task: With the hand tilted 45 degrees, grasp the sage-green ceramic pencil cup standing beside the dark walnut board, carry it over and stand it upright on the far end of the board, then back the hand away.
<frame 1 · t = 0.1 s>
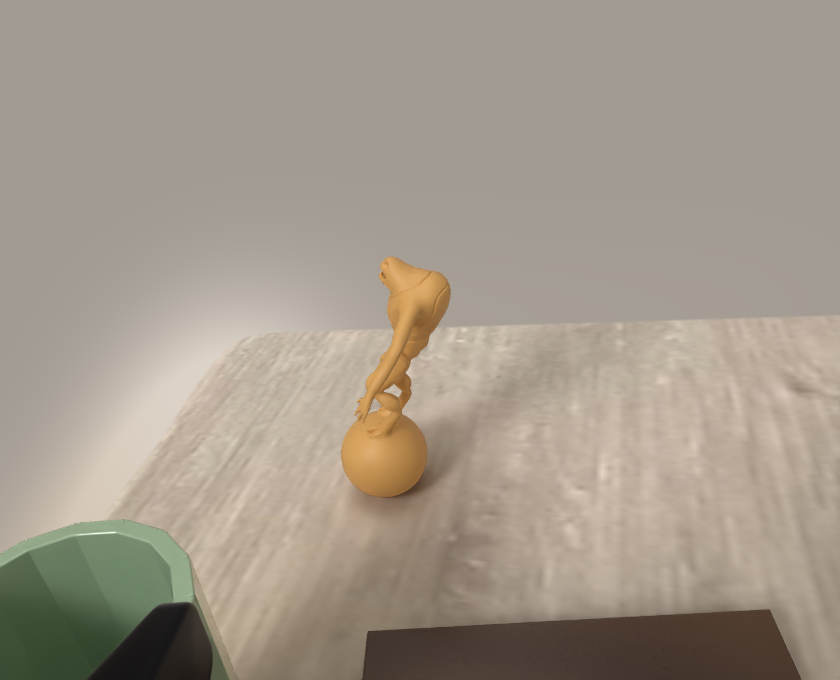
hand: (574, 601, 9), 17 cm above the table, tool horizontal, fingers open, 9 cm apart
figurine: (411, 491, 35), on the table
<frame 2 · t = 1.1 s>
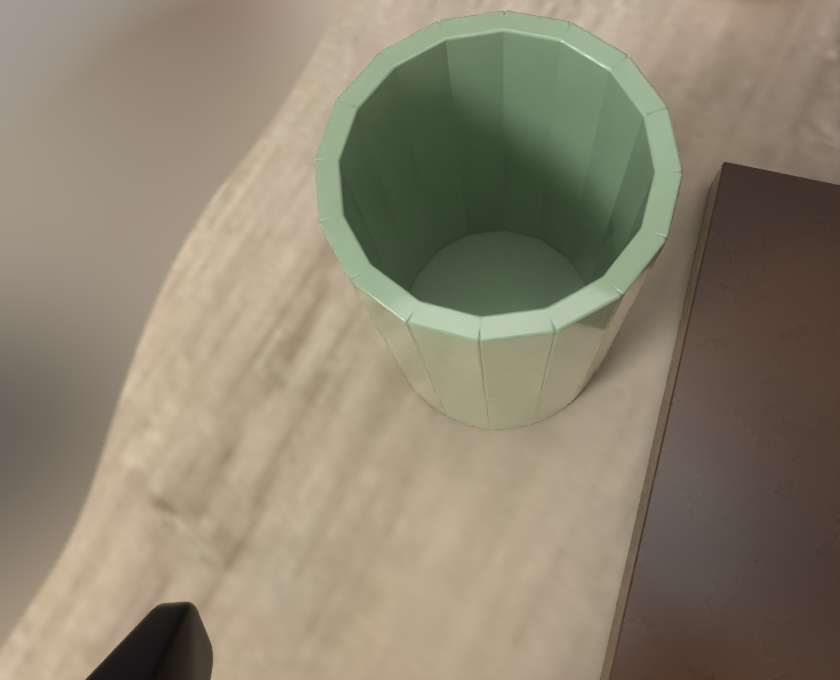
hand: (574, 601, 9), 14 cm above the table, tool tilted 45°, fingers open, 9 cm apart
pencil cup: (497, 324, 24), on the table
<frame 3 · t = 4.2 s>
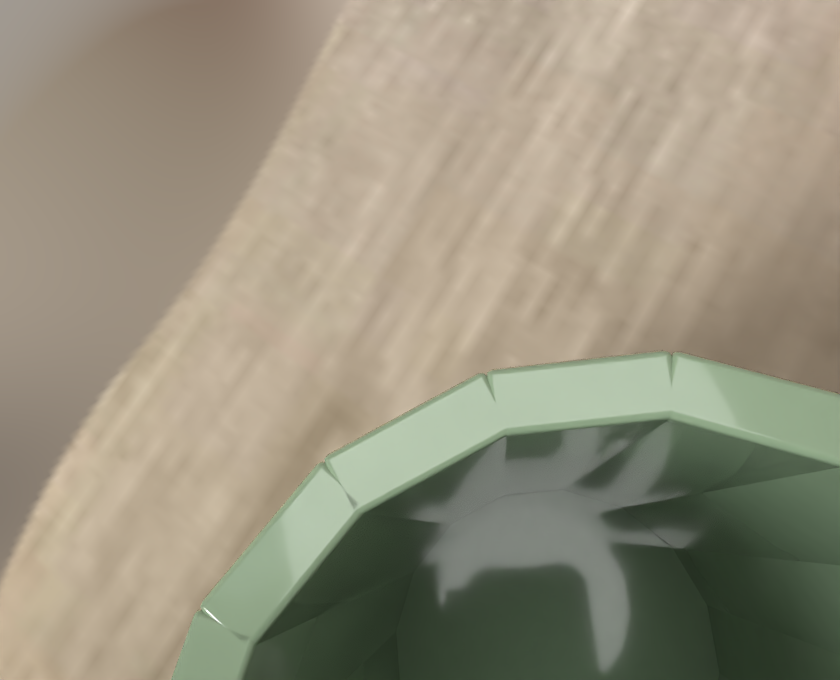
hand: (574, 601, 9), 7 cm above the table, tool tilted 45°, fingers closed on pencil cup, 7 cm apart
pencil cup: (550, 644, 15), on the table, touching gripper
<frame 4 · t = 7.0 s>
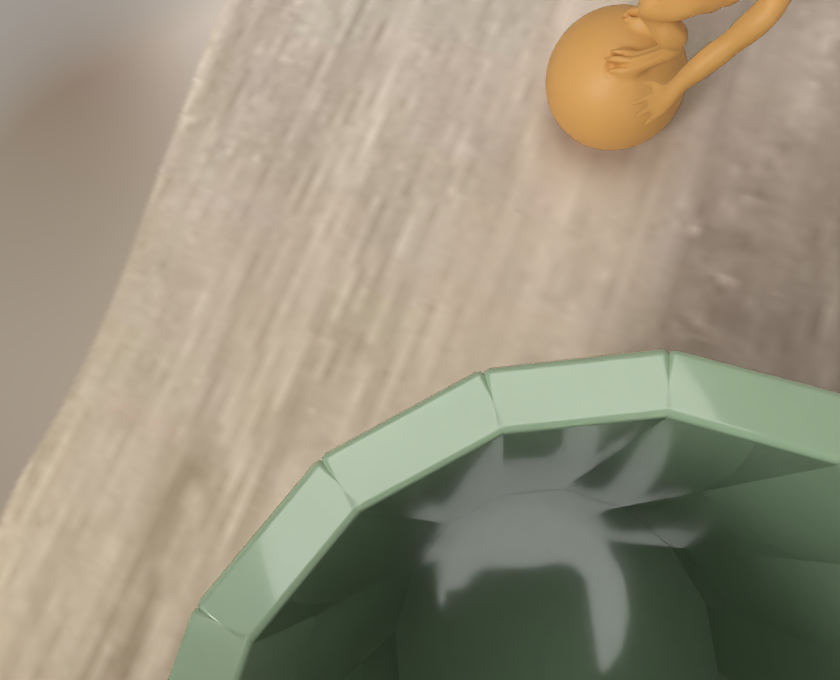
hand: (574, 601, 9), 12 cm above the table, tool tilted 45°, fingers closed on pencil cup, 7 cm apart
figurine: (635, 129, 24), on the table
pencil cup: (549, 644, 15), point 6 cm above the table, touching gripper
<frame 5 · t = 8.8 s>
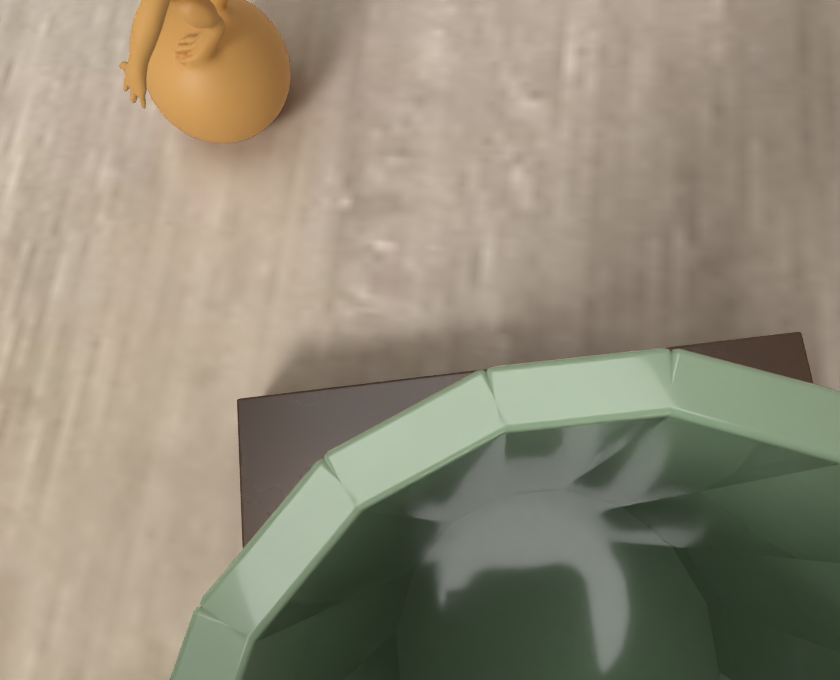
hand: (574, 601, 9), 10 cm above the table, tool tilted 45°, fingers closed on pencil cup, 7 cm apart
figurine: (276, 114, 23), on the table
pencil cup: (550, 643, 15), point 4 cm above the table, touching gripper
when the fingers open (8 cm above the table, at t = 10.1 s): pencil cup stays where it is, resting on walnut board.
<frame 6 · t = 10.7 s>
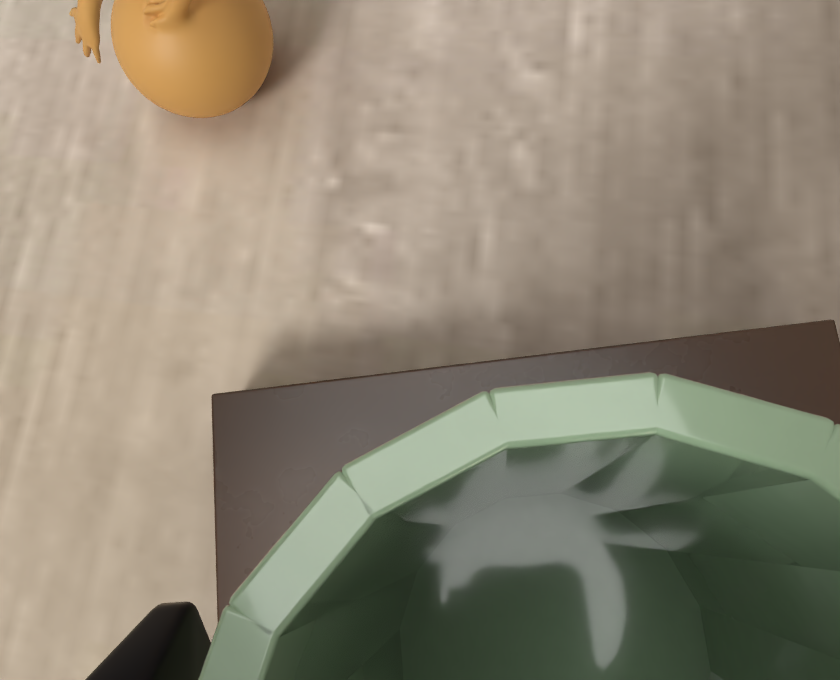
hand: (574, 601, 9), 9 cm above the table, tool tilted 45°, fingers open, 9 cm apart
figurine: (258, 89, 21), on the table
pencil cup: (548, 642, 15), point 1 cm above the table, touching walnut board
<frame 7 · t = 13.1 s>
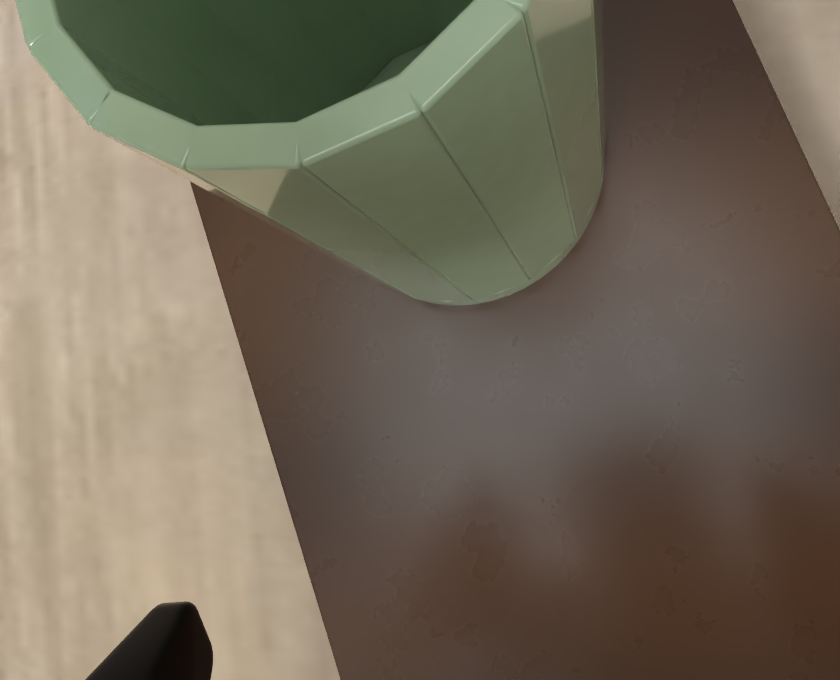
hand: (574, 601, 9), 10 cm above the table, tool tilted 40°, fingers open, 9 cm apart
walnut board: (570, 438, 18), on the table
pencil cup: (461, 167, 18), point 1 cm above the table, touching walnut board
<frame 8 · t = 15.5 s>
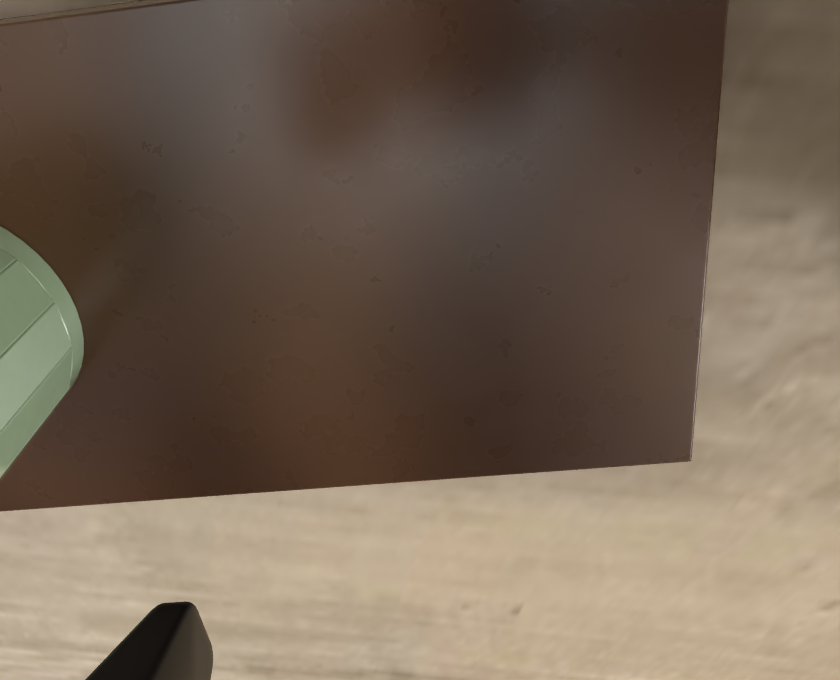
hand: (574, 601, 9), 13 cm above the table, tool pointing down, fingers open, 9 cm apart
walnut board: (220, 269, 21), on the table
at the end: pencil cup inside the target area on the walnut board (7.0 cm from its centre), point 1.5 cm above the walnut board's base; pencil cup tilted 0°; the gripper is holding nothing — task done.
